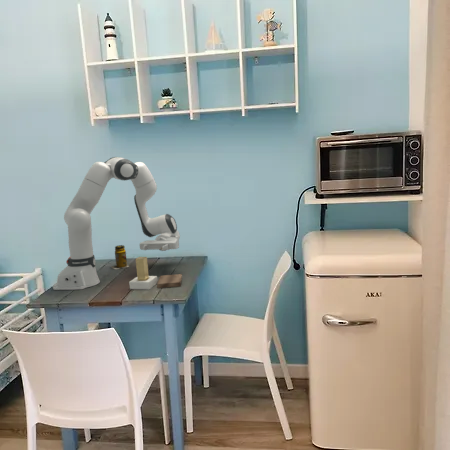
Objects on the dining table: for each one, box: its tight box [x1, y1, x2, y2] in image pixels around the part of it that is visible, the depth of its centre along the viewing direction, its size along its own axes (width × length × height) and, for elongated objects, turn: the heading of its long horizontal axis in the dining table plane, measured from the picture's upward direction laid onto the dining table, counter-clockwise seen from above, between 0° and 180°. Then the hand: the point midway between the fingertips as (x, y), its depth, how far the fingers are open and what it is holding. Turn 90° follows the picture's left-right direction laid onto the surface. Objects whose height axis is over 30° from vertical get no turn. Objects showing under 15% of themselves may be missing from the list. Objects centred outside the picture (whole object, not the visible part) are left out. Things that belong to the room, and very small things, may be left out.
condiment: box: [111, 244, 130, 270], centre depth 265 cm, size 7×8×12 cm
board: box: [156, 273, 183, 289], centre depth 229 cm, size 11×14×2 cm
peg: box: [135, 256, 150, 281], centre depth 225 cm, size 4×4×14 cm
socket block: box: [128, 275, 158, 290], centre depth 226 cm, size 10×10×4 cm
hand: (153, 248), depth 237 cm, fingers open, 8 cm apart
